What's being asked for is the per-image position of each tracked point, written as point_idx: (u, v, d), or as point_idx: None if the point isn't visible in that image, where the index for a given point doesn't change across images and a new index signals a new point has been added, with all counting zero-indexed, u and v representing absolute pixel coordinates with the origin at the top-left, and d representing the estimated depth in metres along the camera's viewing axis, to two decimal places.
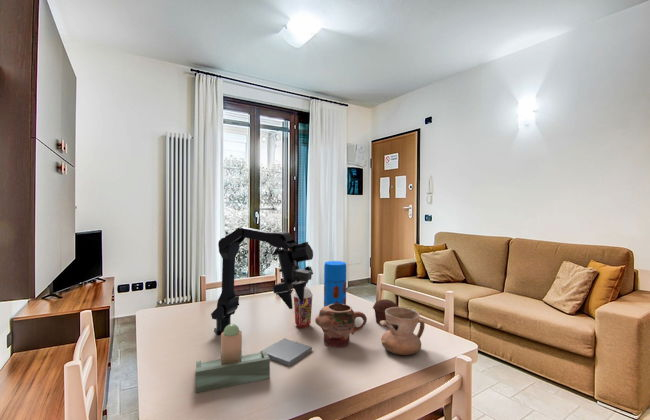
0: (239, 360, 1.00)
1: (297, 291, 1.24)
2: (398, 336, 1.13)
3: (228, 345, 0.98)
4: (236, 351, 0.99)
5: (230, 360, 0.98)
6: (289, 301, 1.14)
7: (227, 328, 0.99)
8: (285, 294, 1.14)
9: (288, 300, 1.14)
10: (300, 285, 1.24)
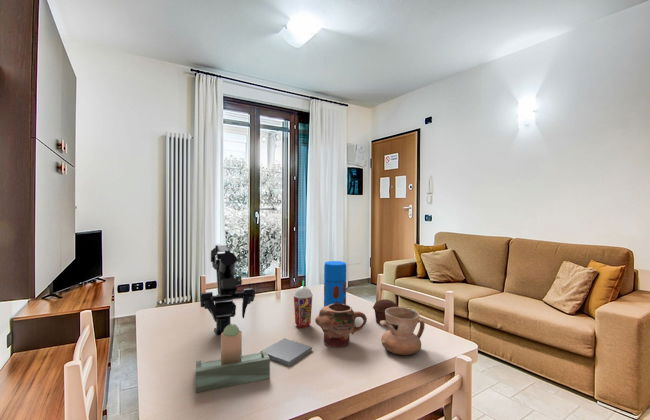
0: (239, 360, 1.00)
1: (242, 308, 1.14)
2: (398, 336, 1.13)
3: (228, 345, 0.98)
4: (236, 351, 0.99)
5: (230, 360, 0.98)
6: (212, 313, 1.08)
7: (227, 328, 0.99)
8: None
9: (211, 312, 1.09)
10: (243, 300, 1.14)
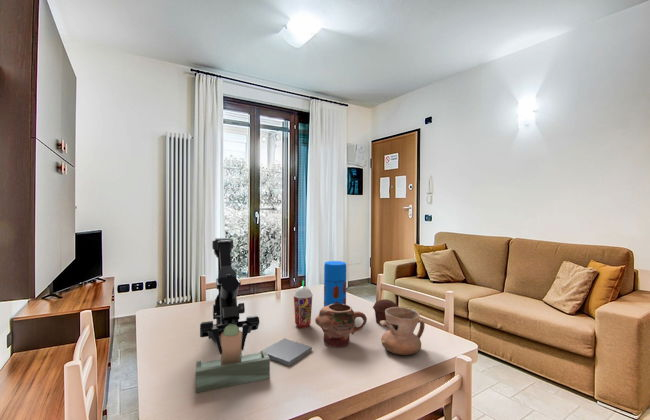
0: (239, 360, 1.00)
1: None
2: (398, 336, 1.13)
3: (228, 345, 0.98)
4: (236, 351, 0.99)
5: (230, 360, 0.98)
6: (216, 344, 1.00)
7: (227, 328, 0.99)
8: None
9: (216, 343, 1.00)
10: (242, 330, 1.05)
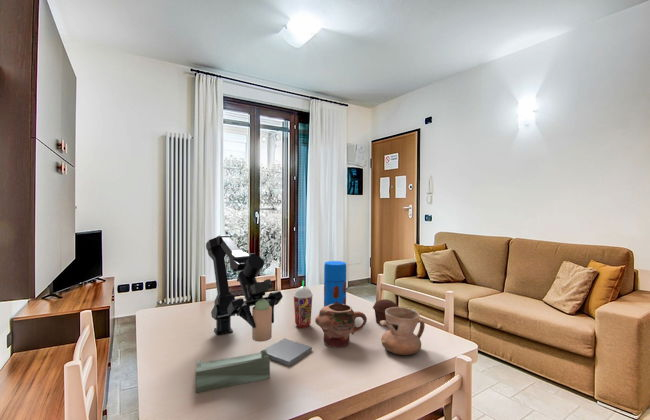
0: (271, 332, 1.05)
1: None
2: (398, 336, 1.13)
3: (263, 318, 1.03)
4: (269, 323, 1.04)
5: (265, 332, 1.03)
6: (249, 319, 1.03)
7: (260, 303, 1.04)
8: (245, 313, 1.05)
9: (248, 318, 1.03)
10: None
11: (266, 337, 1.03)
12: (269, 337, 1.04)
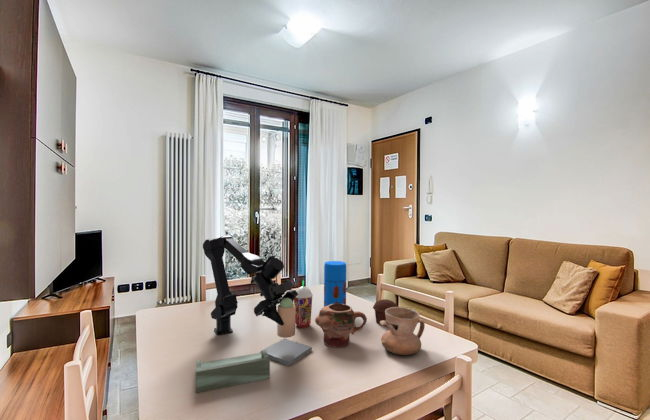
0: None
1: None
2: (398, 336, 1.13)
3: (290, 315, 1.10)
4: None
5: (292, 328, 1.11)
6: (277, 317, 1.09)
7: (286, 301, 1.11)
8: (271, 312, 1.11)
9: (276, 317, 1.09)
10: None
11: (293, 333, 1.11)
12: (294, 332, 1.12)
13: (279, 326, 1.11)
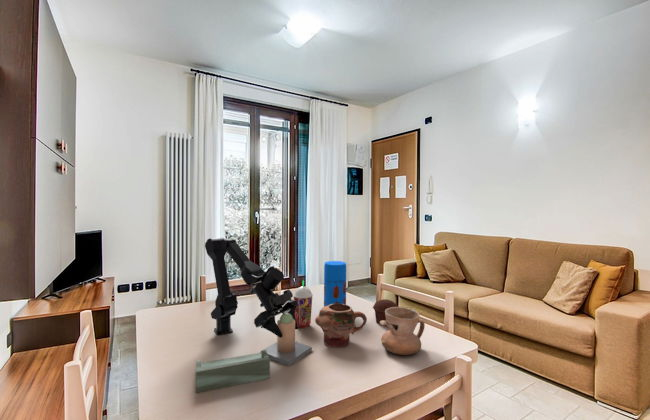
0: None
1: None
2: (398, 336, 1.13)
3: (290, 331, 1.10)
4: (294, 335, 1.13)
5: (292, 343, 1.11)
6: (276, 329, 1.09)
7: (286, 317, 1.11)
8: (270, 324, 1.10)
9: (274, 329, 1.09)
10: (289, 313, 1.18)
11: (293, 348, 1.11)
12: (294, 347, 1.13)
13: (279, 341, 1.11)
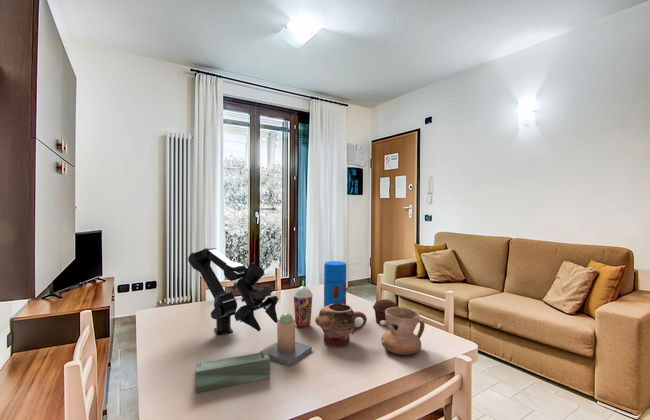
0: None
1: (270, 315, 1.24)
2: (398, 336, 1.13)
3: (290, 331, 1.10)
4: (294, 335, 1.12)
5: (292, 344, 1.11)
6: (254, 323, 1.14)
7: (286, 317, 1.11)
8: (249, 318, 1.15)
9: (253, 323, 1.14)
10: (270, 307, 1.24)
11: (293, 348, 1.11)
12: (294, 347, 1.13)
13: (279, 341, 1.11)
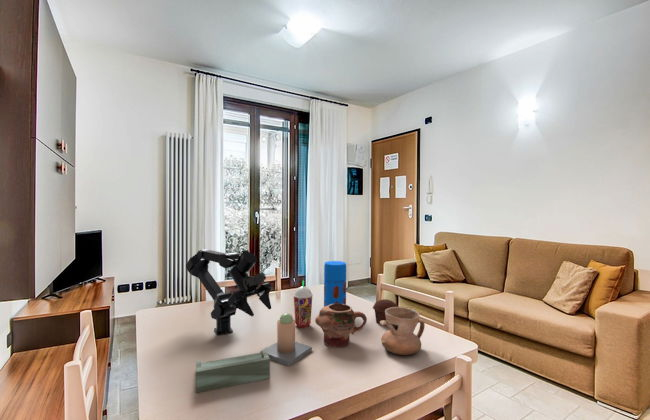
0: None
1: (263, 301, 1.25)
2: (398, 336, 1.13)
3: (290, 331, 1.10)
4: (294, 335, 1.12)
5: (292, 344, 1.11)
6: (247, 309, 1.15)
7: (286, 317, 1.11)
8: (242, 304, 1.16)
9: (246, 308, 1.15)
10: (263, 294, 1.25)
11: (293, 348, 1.11)
12: (294, 347, 1.12)
13: (279, 342, 1.11)
